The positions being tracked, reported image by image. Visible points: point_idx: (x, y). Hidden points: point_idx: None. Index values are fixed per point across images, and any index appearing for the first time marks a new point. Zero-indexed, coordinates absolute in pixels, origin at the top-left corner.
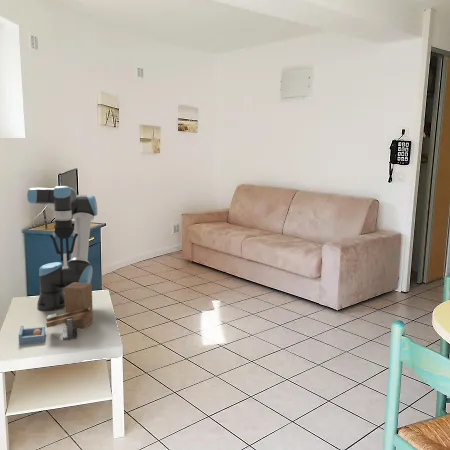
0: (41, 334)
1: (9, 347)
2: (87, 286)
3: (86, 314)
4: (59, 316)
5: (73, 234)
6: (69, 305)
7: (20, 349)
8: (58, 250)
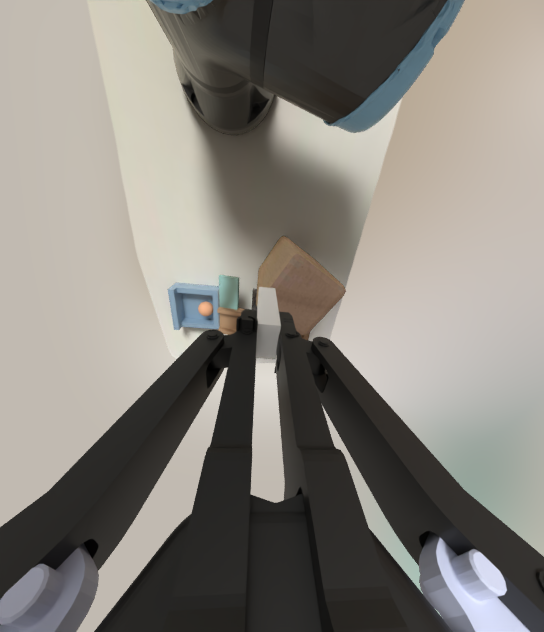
0: (214, 323)
1: (167, 325)
2: (325, 314)
3: None
4: None
5: (452, 619)
6: None
7: (187, 336)
8: (215, 381)
